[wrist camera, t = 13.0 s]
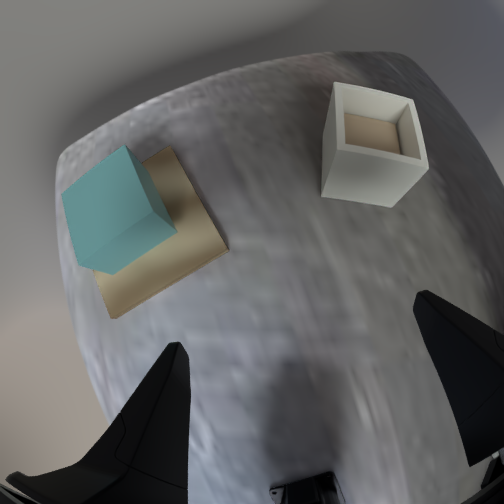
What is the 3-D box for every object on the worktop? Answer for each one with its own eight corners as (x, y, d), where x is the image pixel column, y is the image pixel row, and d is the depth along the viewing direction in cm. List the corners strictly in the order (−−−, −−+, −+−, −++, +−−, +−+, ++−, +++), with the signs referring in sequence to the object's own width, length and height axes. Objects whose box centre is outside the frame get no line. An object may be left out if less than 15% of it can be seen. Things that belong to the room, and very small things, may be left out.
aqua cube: (183, 237, 24) (153, 211, 17) (121, 277, 23) (78, 265, 17) (154, 178, 25) (124, 144, 19) (99, 217, 25) (61, 194, 19)
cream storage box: (391, 207, 24) (428, 168, 16) (320, 196, 24) (336, 149, 17) (386, 147, 25) (413, 99, 17) (322, 135, 26) (333, 81, 18)
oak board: (229, 250, 24) (227, 248, 23) (116, 318, 24) (110, 318, 23) (173, 150, 27) (169, 145, 26) (81, 214, 27) (76, 211, 26)
